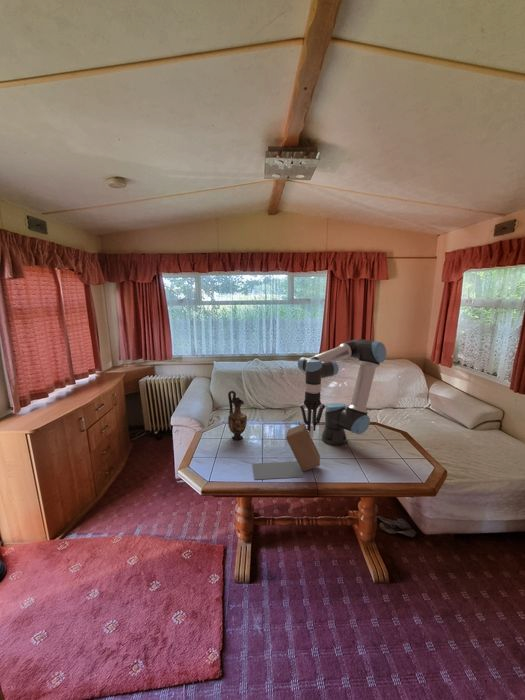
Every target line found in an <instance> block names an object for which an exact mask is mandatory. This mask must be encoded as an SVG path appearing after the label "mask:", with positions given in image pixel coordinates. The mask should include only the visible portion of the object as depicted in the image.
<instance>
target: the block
mask: <svg viewBox="0 0 525 700" xmlns="http://www.w3.org/2000/svg"><path fill="white" fill-rule="evenodd" d="M285 440H286V441H287V444H288V445H289V447H290V450H291V451H292V453H293V455H294V458H295V459H296V460H295V461H297V462H298V465H299V467H300V469H301V472H305V471H309V470H312V469H316V468H317V467H320V465H321V455H320V453H319V451H318V448H317V445H316V444H315V442H314V440H313V438H310V437H309V431H308V430H307V426H306V424H305V423H302V424H298V425H297V426H294V427H291V428H288V429H287V432H286V436H285Z"/></svg>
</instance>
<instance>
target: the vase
mask: <svg viewBox="0 0 525 700" xmlns="http://www.w3.org/2000/svg"><path fill="white" fill-rule="evenodd" d="M231 394H232V395H231ZM227 395H228V396H227V397H228V404H229V405H228V406H229V411H228V412H229V414H228V418H227V424H228V429H229V431H230V432H231V433H232V434H233V436H231V440H232V439H233V440H232V441H234V440H235V441H234V442H239V440H240V441H242V440H243V439H244V437H243V436H242V433H244V432H245V430H246V428H247V422H248V416H247V415H246V414H245V413H244V412H241V406H242V405H244V404H245V401H244V400H242V399H240V397H237V393H236V391H235V390H231V391H229V392H228V394H227ZM233 405H234V408H233ZM233 410H234V411H233Z"/></svg>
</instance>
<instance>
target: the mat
mask: <svg viewBox="0 0 525 700" xmlns="http://www.w3.org/2000/svg"><path fill="white" fill-rule="evenodd" d="M251 465H252V472H253V473H252V474H253V479H254V481H258V480H276V479H279V480H280V479H295V478H297V479H298V478H304V475H303V471H302V470H301V468H300V466H299V464H298V462H297V460H295V461H277V462H256V463H255V462H254V463H252V464H251Z"/></svg>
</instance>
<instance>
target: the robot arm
mask: <svg viewBox="0 0 525 700" xmlns="http://www.w3.org/2000/svg"><path fill="white" fill-rule="evenodd" d="M350 358H352V359H358V363H359V364H360V365H359V369H358V373H357V377H356V381H355V385H354V390H353V394H352V397H351V401H350V404H349V405H347V406H346V404H345V403H342V402H331V403H327V404H326V405H325V404H324V403H322V402H321V391H322V390H321V389H322V388H321V387H322V386H321V385H322V379H325V378H329V377H330V378H331V377H333V376H336V375H338V372H339V364H337V363H336V362H337V361H340V360H343V359H344V360H345V359H347V360H348V359H350ZM386 358H387V348H386V346H385V344H384V343H383V342H381V341H377V340H368V339H361V338H360V339H351V340H348V341H346V342H343V343H341V344H339V345H338V346H336V347H334V348H331V349H329V350H326V351H323V352H321V353H318V354H315V355H313V356H310V357H306V356H305V357H300V358H299V359H298V361H297V368H298V369H299V370H300V371H303V372H305V385H304V387H305V388H304V401H303V403H301V404H299V405H298V406H299V407H300V410H301V415H302V419H303V424H305V425H307V426H306V428H307V430H308V432H309V437H310V438H312V439H313V438H314V432H315V431H316V426H317V424H320V423H321V418H322V415H323V413H324V412H323V411H324V409H325V415H324V416H325V417H324V428H323V430H322V433H321V441H322V442H323V443H326V444H328V445H330V446H342V445H345V444H346V443H347V435H346V431H348V432H351V433H353V434H356V435H362V434H364V433H365V432H366V431H367V430H368V428H369V426H370V423H371V418H370V417H369V416H368V414H369V413H368V412H369V411H368V410H367V405H368V403H369V402H368V400H369V397H370V394H371V393H370V392H371V388H372V384H373V380H374V377H375V373H376V369H377V368H378V367H380V364H381V363H384V362H385V360H386ZM305 408H306V409H307V415H306V411H305ZM317 410H318V412H317Z"/></svg>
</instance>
